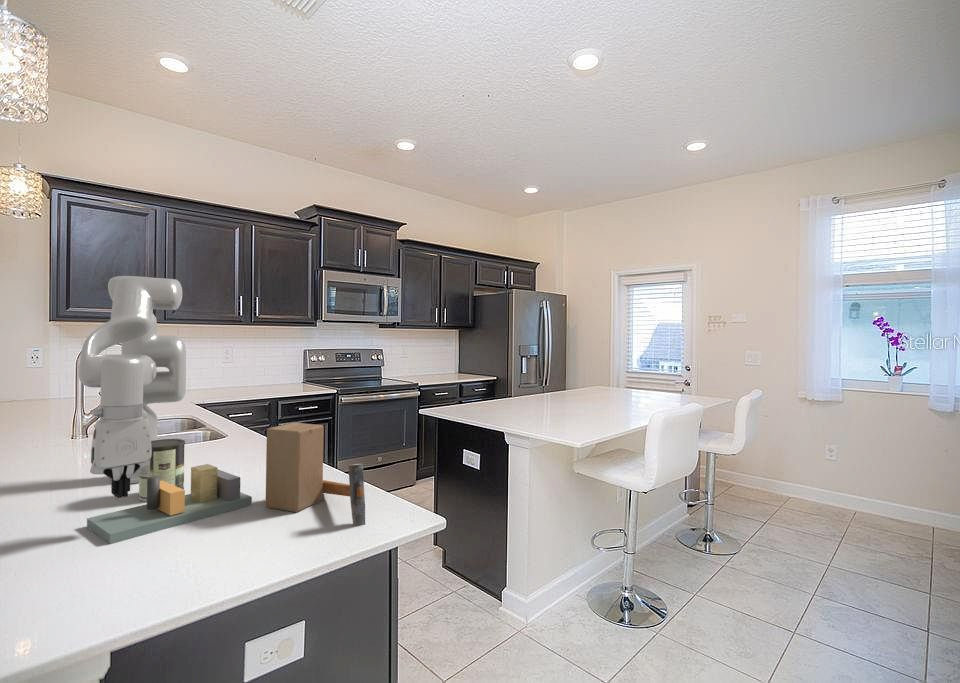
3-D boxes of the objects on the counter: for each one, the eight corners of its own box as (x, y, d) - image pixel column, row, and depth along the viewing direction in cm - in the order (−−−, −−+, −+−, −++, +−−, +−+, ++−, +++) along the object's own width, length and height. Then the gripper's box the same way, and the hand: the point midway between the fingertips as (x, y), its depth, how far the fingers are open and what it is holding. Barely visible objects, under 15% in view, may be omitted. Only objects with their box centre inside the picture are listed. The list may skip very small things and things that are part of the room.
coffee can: (168, 487, 135) (169, 437, 135) (192, 492, 131) (193, 441, 131) (129, 497, 126) (130, 444, 126) (153, 504, 121) (154, 448, 121)
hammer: (312, 463, 135) (353, 465, 111) (321, 462, 136) (363, 463, 113) (315, 514, 132) (357, 527, 109) (324, 512, 134) (367, 524, 110)
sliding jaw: (136, 506, 113) (137, 474, 113) (162, 500, 118) (162, 469, 118) (158, 518, 106) (158, 484, 106) (184, 511, 111) (185, 478, 111)
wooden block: (323, 500, 127) (324, 424, 127) (297, 513, 117) (298, 431, 117) (292, 495, 130) (293, 422, 130) (264, 507, 121) (265, 428, 121)
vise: (86, 527, 106) (87, 494, 106) (224, 493, 131) (224, 466, 131) (110, 544, 98) (110, 508, 98) (251, 504, 123) (252, 475, 123)
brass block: (190, 499, 120) (191, 467, 120) (207, 495, 123) (207, 464, 123) (200, 503, 117) (200, 470, 117) (216, 499, 120) (217, 467, 120)
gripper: (85, 419, 97) (83, 509, 97) (167, 410, 109) (165, 491, 109) (73, 415, 102) (72, 501, 102) (153, 407, 114) (152, 485, 114)
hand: (120, 496), depth 105 cm, fingers closed
